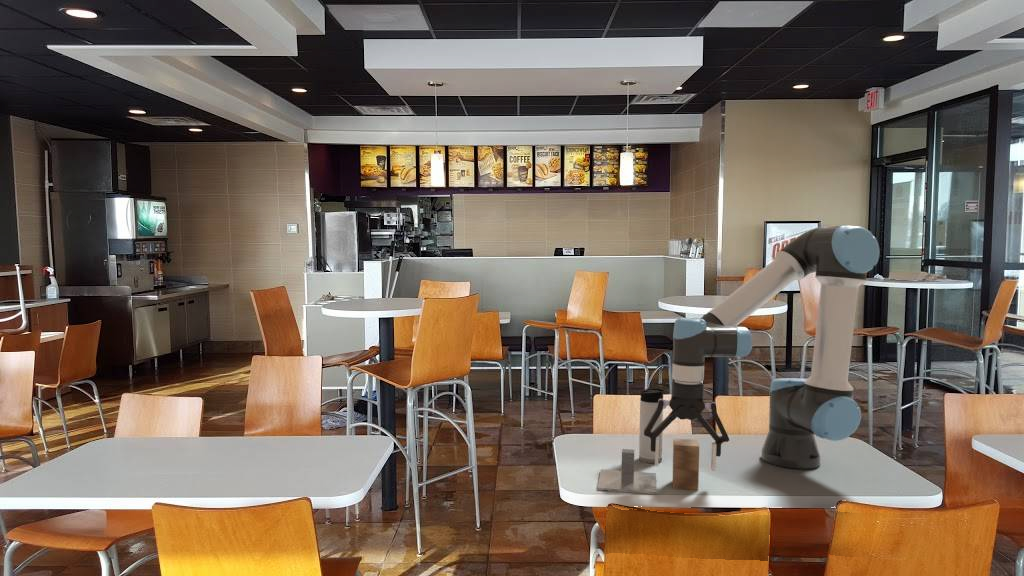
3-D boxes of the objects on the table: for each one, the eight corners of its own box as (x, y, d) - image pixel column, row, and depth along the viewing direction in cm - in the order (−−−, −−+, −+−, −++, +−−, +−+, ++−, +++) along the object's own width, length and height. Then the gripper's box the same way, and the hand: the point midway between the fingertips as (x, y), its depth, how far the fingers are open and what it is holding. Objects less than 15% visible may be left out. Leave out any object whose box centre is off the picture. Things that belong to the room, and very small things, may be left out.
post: (655, 475, 173) (656, 444, 172) (656, 494, 159) (657, 461, 159) (601, 471, 175) (601, 441, 175) (597, 490, 162) (598, 457, 161)
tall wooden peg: (696, 482, 168) (697, 439, 167) (698, 490, 162) (699, 446, 161) (672, 480, 169) (673, 438, 168) (673, 488, 163) (674, 444, 163)
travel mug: (663, 464, 182) (665, 391, 181) (638, 462, 183) (640, 390, 182) (663, 457, 188) (664, 386, 187) (639, 455, 189) (640, 385, 188)
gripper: (738, 381, 165) (735, 466, 166) (636, 375, 170) (633, 458, 171) (743, 387, 158) (739, 475, 159) (635, 381, 163) (633, 467, 164)
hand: (684, 466), depth 165 cm, fingers open, 13 cm apart
